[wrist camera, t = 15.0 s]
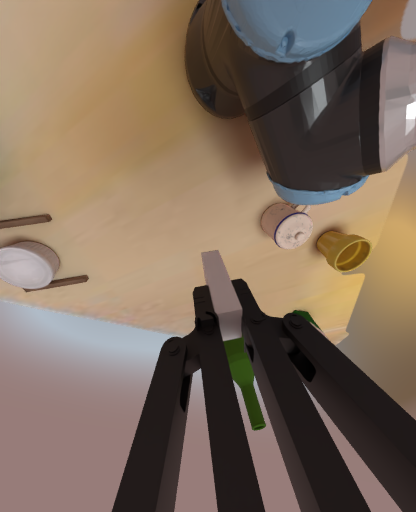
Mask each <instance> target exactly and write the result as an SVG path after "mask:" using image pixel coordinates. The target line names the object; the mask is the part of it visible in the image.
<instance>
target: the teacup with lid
mask: <svg viewBox="0 0 416 512" xmlns="http://www.w3.org/2000/svg"><path fill="white" fill-rule="evenodd" d="M298 206H299V205H297V204H293V205H292V206H291V207H290V206H288V205H286V204H283V203H278V204H275V205H272V206H271V207H269V208H268V209H267V210H266V211H265V212H264V214H263V216H262V219H261V226H262V228H263V230H264V231H265V232H266V233H267V234H268V235H269V236H270V237H271V238H272V239H273V240H274V241H275V243H276V244H277V245H278V246H279V247H281V248H283V249H293V248H296V247H299V246H300V245H302V244H303V243H304V242H305V241H306V240H307V239H308V238H309V236H310V235H311V233H312V229H313V223H312V220H311V218H310V217H309V216H308V215H307V214H306V213H307V212H308V211H309V210H310V208H311V205H306V207H305V208H304V209H303V210H302V211H301V212H299V211H297V210H295V209H296V208H297V207H298Z"/></svg>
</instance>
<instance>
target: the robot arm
mask: <svg viewBox="0 0 416 512" xmlns="http://www.w3.org/2000/svg"><path fill="white" fill-rule="evenodd" d="M371 2H372V0H199V1H198V3H197V5H196V7H195V9H194V11H193V13H192V16H191V19H190V22H189V26H188V30H187V36H186V45H185V66H186V72H187V77H188V81H189V84H190V87H191V89H192V91H193V93H194V95H195V97H196V99H197V100H198V102H199V103H200V104H201V105H202V107H203V108H204V109H205V110H207V111H208V112H209V113H211V114H213V115H214V116H217V117H220V118H227V119H228V118H235V117H238V116H241V115H243V114H245V113H246V116H247V119H248V122H249V125H250V128H251V130H252V133H253V136H254V138H255V141H256V144H257V146H258V149H259V151H260V154H261V157H262V159H263V162H264V165H265V167H266V170H267V176H268V178H269V180H270V181H271V182H272V184H273V186H274V189H275V191H276V193H277V194H278V196H280V197H281V198H282V199H283V200H285V201H287V202H289V203H292V204H297V205H318V204H324V203H328V202H332V201H335V200H338V199H340V198H341V195H350V194H352V193H353V192H355V191H357V190H358V189H359V188H360V187H361V186H362V185H363V184H364V183H365V181H366V180H367V178H368V177H369V175H372V174H376V173H381V172H385V171H387V170H388V169H390V168H391V167H392V166H393V165H394V164H395V163H396V162H397V161H398V160H399V159H401V158H402V157H403V156H404V155H405V154H407V153H408V152H410V151H411V150H414V149H416V42H411V41H407V40H404V39H401V38H397V37H394V36H390V37H388V38H386V39H384V40H383V41H381V42H379V43H378V44H376V45H374V46H373V47H371V48H370V49H368V50H366V51H364V52H362V47H361V45H362V44H361V29H360V18H361V17H362V15H363V14H364V12H365V11H366V10H367V8H368V6H369V5H370V3H371ZM201 254H202V261H203V269H204V276H205V281H206V285H205V286H200V287H195V289H194V291H193V299H194V307H195V316H196V317H195V328H194V330H193V331H192V332H191V333H190V334H189V335H187V336H185V337H183V338H181V337H171V338H170V339H168V340H167V341H166V342H165V343H164V344H163V346H162V348H161V351H160V355H159V358H158V361H157V364H156V368H155V371H154V374H153V378H152V381H151V384H150V387H149V391H148V394H147V397H146V401H145V404H144V407H143V410H142V414H141V417H140V421H139V424H138V427H137V430H136V434H135V437H134V440H133V444H132V447H131V450H130V454H129V457H128V460H127V464H126V467H125V470H124V473H123V476H122V480H121V483H120V486H119V490H118V493H117V496H116V500H115V503H114V506H113V509H112V512H174V508H175V501H176V493H177V486H178V479H179V471H180V464H181V457H182V449H183V442H184V435H185V426H186V420H187V413H188V405H189V398H190V390H191V383H192V376H193V373H194V372H196V371H197V370H199V369H200V368H201V371H202V380H203V389H204V397H205V405H206V414H207V423H208V431H209V440H210V448H211V457H212V465H213V473H214V482H215V490H216V499H217V508H218V512H265V509H264V505H263V501H262V497H261V493H260V488H259V484H258V480H257V476H256V472H255V468H254V464H253V460H252V456H251V452H250V448H249V444H248V440H247V436H246V432H245V428H244V424H243V420H242V415H241V412H240V408H239V403H238V399H237V395H236V391H235V387H234V383H233V379H232V375H231V371H230V367H229V363H228V359H227V355H226V351H225V346H224V342H223V341H226V340H231V339H236V338H241V337H242V335H243V337H244V353H246V352H247V354H248V357H249V360H250V363H251V366H252V369H253V372H254V375H255V378H256V381H257V384H258V387H259V390H260V393H261V395H262V398H263V401H264V404H265V407H266V410H267V413H268V416H269V419H270V421H271V425H272V428H273V431H274V433H275V436H276V439H277V442H278V445H279V448H280V451H281V454H282V457H283V460H284V463H285V466H286V469H287V472H288V475H289V477H290V481H291V483H292V486H293V489H294V492H295V495H296V498H297V501H298V504H299V507H300V510H301V512H371V511H370V509H369V507H368V505H367V503H366V501H365V499H364V497H363V496H362V494H361V492H360V490H359V488H358V486H357V484H356V482H355V481H354V479H353V477H352V475H351V473H350V471H349V469H348V467H347V466H346V464H345V462H344V460H343V458H342V456H341V454H340V452H339V450H338V449H337V447H336V445H335V443H334V441H333V439H332V437H331V436H330V434H329V432H328V430H327V428H326V426H325V424H324V422H323V420H322V419H321V417H320V415H319V413H318V411H317V409H316V407H315V405H314V404H313V401H312V400H311V398H310V396H309V394H308V392H307V390H306V388H305V386H306V387H307V388H308V390H309V391H310V392H311V394H312V395H313V396H314V397H315V399H316V400H317V402H318V403H319V404H320V405H321V407H322V408H323V409H324V411H325V412H326V413H327V414H328V416H329V417H330V418H331V420H332V421H333V422H334V424H335V425H336V426H337V427H338V429H339V430H340V431H341V433H342V434H343V435H344V436H345V437H346V439H347V440H348V441H349V443H350V444H351V446H352V447H353V448H354V449H355V451H356V452H357V453H358V455H359V456H360V457H361V458H362V460H363V461H364V462H365V464H366V465H367V466H368V468H369V469H370V470H371V471H372V473H373V474H374V475H375V477H376V478H377V479H378V480H379V482H380V483H381V484H382V485H383V487H384V488H385V490H386V491H387V492H388V493H389V495H390V496H391V497H392V499H393V500H394V501H395V502H396V504H397V505H398V506H399V508H400V509H401V510H402V512H416V420H415V419H414V418H412V417H411V416H410V415H409V414H408V413H407V412H406V411H405V410H404V409H403V408H402V407H401V406H400V405H398V404H397V403H396V402H395V401H394V400H393V399H392V398H391V397H390V396H389V395H388V394H387V393H385V392H384V391H383V390H382V389H381V388H380V387H379V386H378V385H377V384H376V383H374V381H372V380H371V379H370V378H369V377H368V376H367V375H366V374H365V373H364V372H363V371H362V370H361V369H359V368H358V367H357V366H356V365H355V364H354V363H353V362H352V361H351V360H350V359H349V358H348V357H346V356H345V355H344V354H343V353H342V352H341V351H340V350H339V349H338V348H337V347H336V346H335V345H334V344H332V343H331V342H330V341H329V340H328V339H327V338H326V337H325V336H324V335H323V334H322V333H321V332H319V331H318V330H317V329H316V328H315V327H314V326H313V325H312V324H311V323H310V322H309V321H308V320H306V319H305V318H304V317H303V316H301V315H299V314H296V313H288V314H286V315H285V316H284V318H278V317H270V316H268V315H266V314H265V313H263V312H262V311H261V310H260V308H259V307H258V305H257V303H256V301H255V299H254V297H253V295H252V293H251V291H250V289H249V287H248V285H247V283H246V282H245V281H244V280H242V279H236V280H230V278H229V275H228V273H227V270H226V268H225V265H224V263H223V260H222V258H221V255H220V253H219V251H218V250H215V251H209V252H203V253H201ZM302 382H303V383H304V384H305V386H304V385H303V383H302Z"/></svg>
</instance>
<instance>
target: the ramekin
mask: <svg viewBox="0 0 416 512" xmlns="http://www.w3.org/2000/svg"><path fill="white" fill-rule="evenodd" d="M58 268H59V259H58V257H57V255H56V254H55V253H54V252H53V251H52V250H51V249H50V248H48V247H47V246H45V245H42V244H40V243H36V242H30V241H29V242H28V241H26V242H19V243H16V244H13V245H10V246H6V247H2V248H0V278H1V279H2V280H4V281H5V282H7V283H9V284H12V285H14V286H17V287H21V288H26V289H37V288H42V287H45V286H47V285H48V284H49V283H50V282H51V281H52V280H53V278H54V275H55V273H56V272H57V270H58Z"/></svg>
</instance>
